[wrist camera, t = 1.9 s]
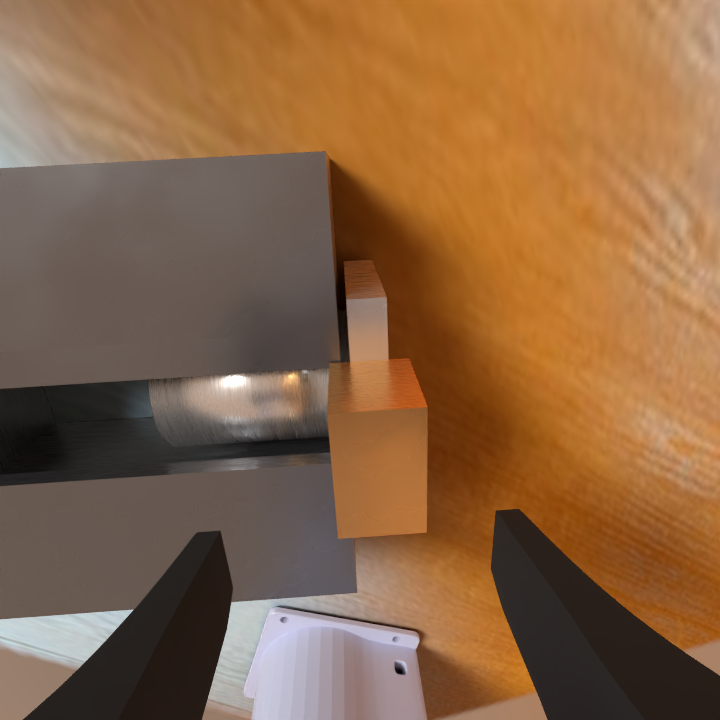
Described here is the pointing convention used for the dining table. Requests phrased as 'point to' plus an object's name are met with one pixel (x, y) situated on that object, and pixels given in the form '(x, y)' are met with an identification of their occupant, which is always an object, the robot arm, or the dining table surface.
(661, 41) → the dining table surface
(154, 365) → the housing
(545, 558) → the robot arm
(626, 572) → the dining table surface
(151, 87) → the dining table surface
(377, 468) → the end cover
